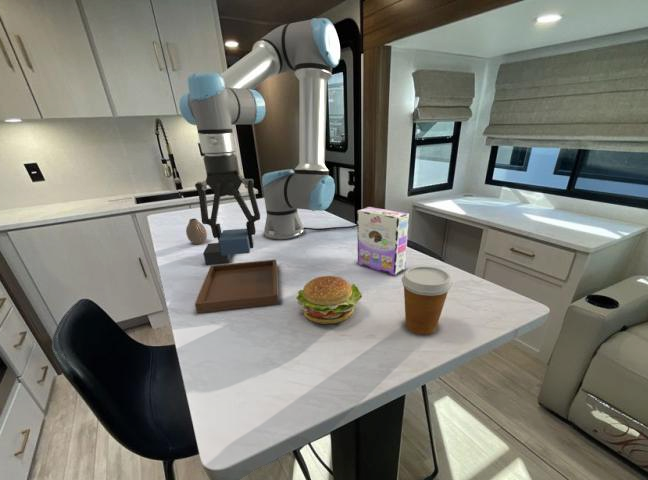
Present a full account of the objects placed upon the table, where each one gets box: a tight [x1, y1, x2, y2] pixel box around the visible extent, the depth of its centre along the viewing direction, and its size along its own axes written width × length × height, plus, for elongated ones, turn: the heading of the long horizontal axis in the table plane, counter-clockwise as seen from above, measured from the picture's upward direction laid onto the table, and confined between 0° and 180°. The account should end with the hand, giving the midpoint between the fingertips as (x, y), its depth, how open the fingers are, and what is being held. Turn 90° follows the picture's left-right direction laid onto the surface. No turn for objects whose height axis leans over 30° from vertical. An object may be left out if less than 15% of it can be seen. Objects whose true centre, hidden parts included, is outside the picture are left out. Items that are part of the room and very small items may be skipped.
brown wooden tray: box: [194, 259, 280, 314], centre depth 85 cm, size 19×23×2 cm
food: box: [295, 275, 363, 325], centre depth 72 cm, size 14×14×8 cm
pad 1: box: [202, 242, 232, 266], centre depth 104 cm, size 7×9×4 cm
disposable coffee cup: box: [401, 265, 453, 336], centre depth 65 cm, size 10×10×12 cm
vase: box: [185, 217, 208, 245], centre depth 117 cm, size 7×7×9 cm
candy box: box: [356, 206, 410, 276], centre depth 91 cm, size 14×6×16 cm, turn 47°
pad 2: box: [218, 228, 251, 256], centre depth 85 cm, size 7×9×4 cm
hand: (237, 247), depth 86 cm, fingers closed on pad 2, 7 cm apart
